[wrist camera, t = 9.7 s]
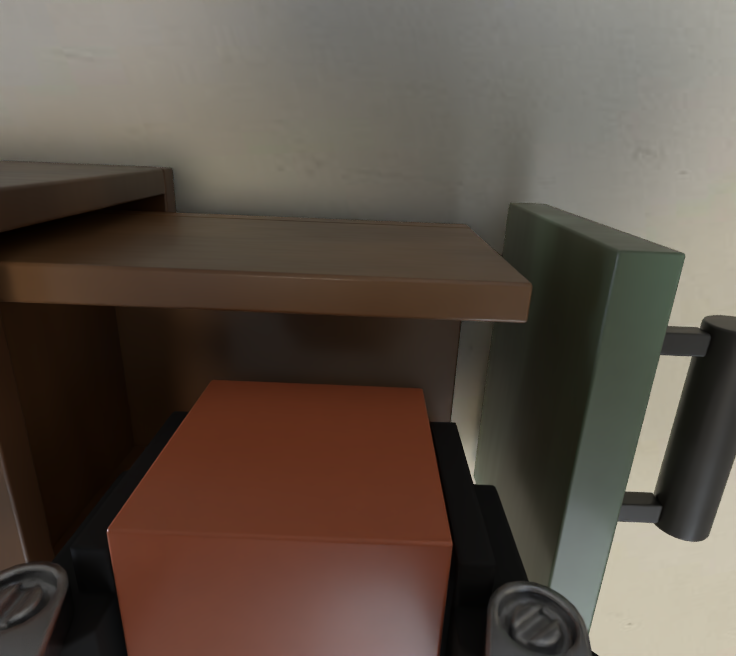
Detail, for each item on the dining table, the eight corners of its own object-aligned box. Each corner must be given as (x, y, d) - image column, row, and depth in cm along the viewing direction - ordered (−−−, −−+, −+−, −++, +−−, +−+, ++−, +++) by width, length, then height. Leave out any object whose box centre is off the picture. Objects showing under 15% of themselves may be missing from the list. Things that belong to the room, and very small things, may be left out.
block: (210, 379, 10) (103, 530, 6) (422, 386, 10) (454, 544, 6) (223, 547, 12) (143, 758, 8) (408, 554, 12) (426, 770, 8)
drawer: (679, 209, 16) (932, 262, 9) (613, 481, 20) (753, 681, 12) (92, 185, 16) (-144, 219, 9) (131, 461, 20) (-13, 649, 12)
